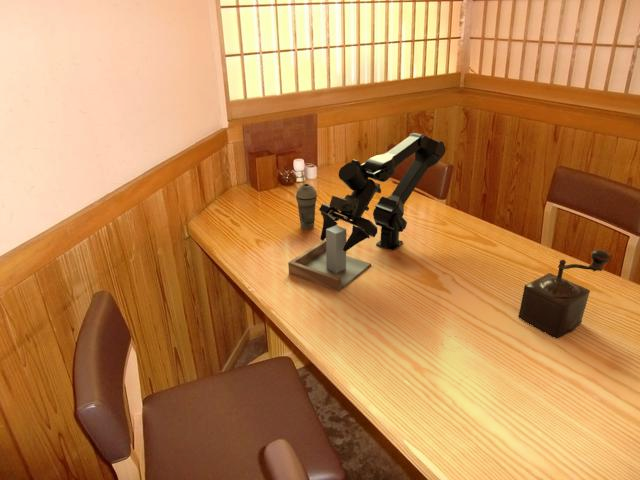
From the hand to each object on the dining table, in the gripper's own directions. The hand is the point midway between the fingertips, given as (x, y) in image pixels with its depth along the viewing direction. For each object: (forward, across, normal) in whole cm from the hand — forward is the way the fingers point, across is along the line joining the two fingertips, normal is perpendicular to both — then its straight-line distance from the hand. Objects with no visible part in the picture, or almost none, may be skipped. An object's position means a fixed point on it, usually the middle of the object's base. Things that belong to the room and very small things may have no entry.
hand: (332, 245), depth 130 cm
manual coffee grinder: (-11, +54, +23) cm, 59 cm away
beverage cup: (-4, -28, +17) cm, 33 cm away
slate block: (+5, 0, +7) cm, 8 cm away
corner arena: (+5, -1, +7) cm, 9 cm away
